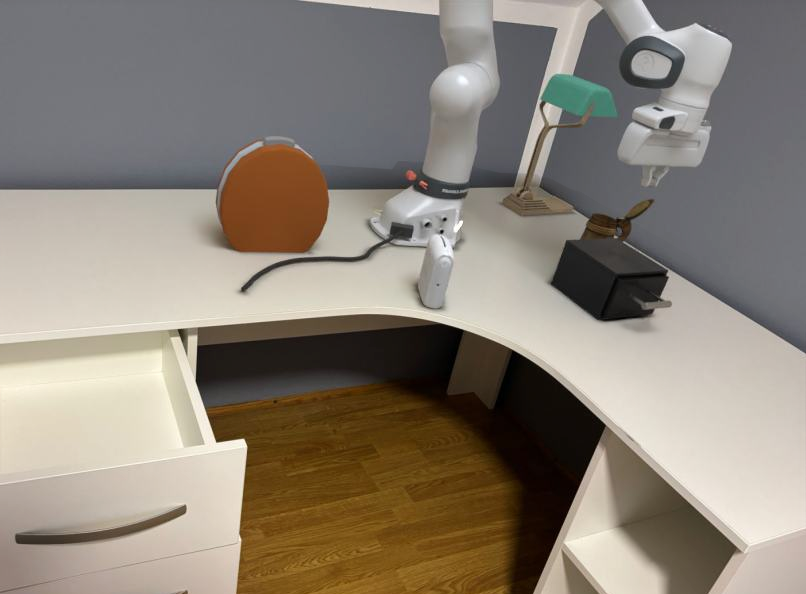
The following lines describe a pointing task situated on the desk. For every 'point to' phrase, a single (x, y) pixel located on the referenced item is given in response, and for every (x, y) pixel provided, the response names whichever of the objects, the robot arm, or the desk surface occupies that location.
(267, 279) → the desk surface
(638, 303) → the drawer
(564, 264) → the black box
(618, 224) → the wooden mug
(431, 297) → the photo printer
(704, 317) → the desk surface
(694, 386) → the desk surface
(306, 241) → the alarm clock
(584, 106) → the banker's lamp
